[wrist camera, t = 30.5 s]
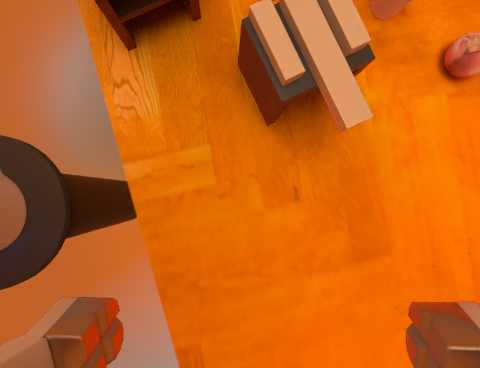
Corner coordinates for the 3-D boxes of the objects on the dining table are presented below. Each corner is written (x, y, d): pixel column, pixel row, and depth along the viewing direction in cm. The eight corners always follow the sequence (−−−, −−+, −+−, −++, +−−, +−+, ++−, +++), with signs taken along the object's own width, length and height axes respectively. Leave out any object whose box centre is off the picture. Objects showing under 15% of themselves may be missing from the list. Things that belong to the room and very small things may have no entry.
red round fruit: (444, 37, 62) (473, 16, 54) (480, 51, 62) (514, 32, 55) (431, 74, 61) (459, 59, 54) (468, 88, 61) (500, 75, 54)
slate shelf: (337, 92, 60) (384, 50, 42) (267, 125, 59) (285, 97, 42) (307, 32, 60) (342, -37, 42) (237, 64, 60) (242, 8, 42)
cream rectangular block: (365, 120, 44) (373, 116, 42) (340, 132, 44) (347, 129, 42) (303, -6, 45) (308, -18, 42) (278, 5, 44) (281, -6, 42)
